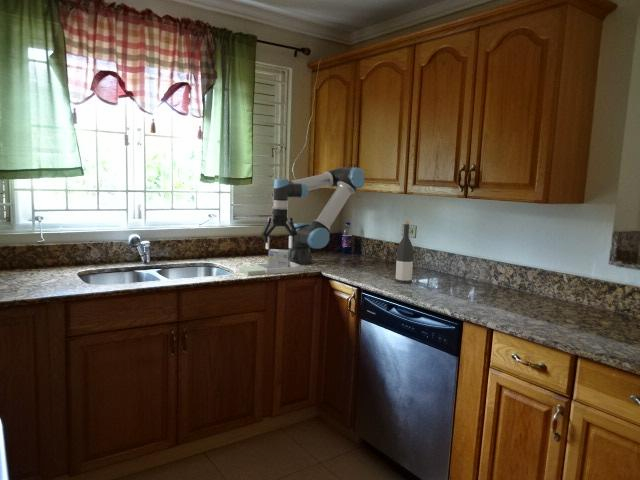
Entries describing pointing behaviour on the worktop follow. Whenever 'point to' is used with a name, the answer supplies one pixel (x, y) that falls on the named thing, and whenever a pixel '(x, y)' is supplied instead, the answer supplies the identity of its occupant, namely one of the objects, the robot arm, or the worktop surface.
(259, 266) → the tray
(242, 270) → the board
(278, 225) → the robot arm
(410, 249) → the wine bottle
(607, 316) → the worktop surface
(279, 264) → the light bulb box
